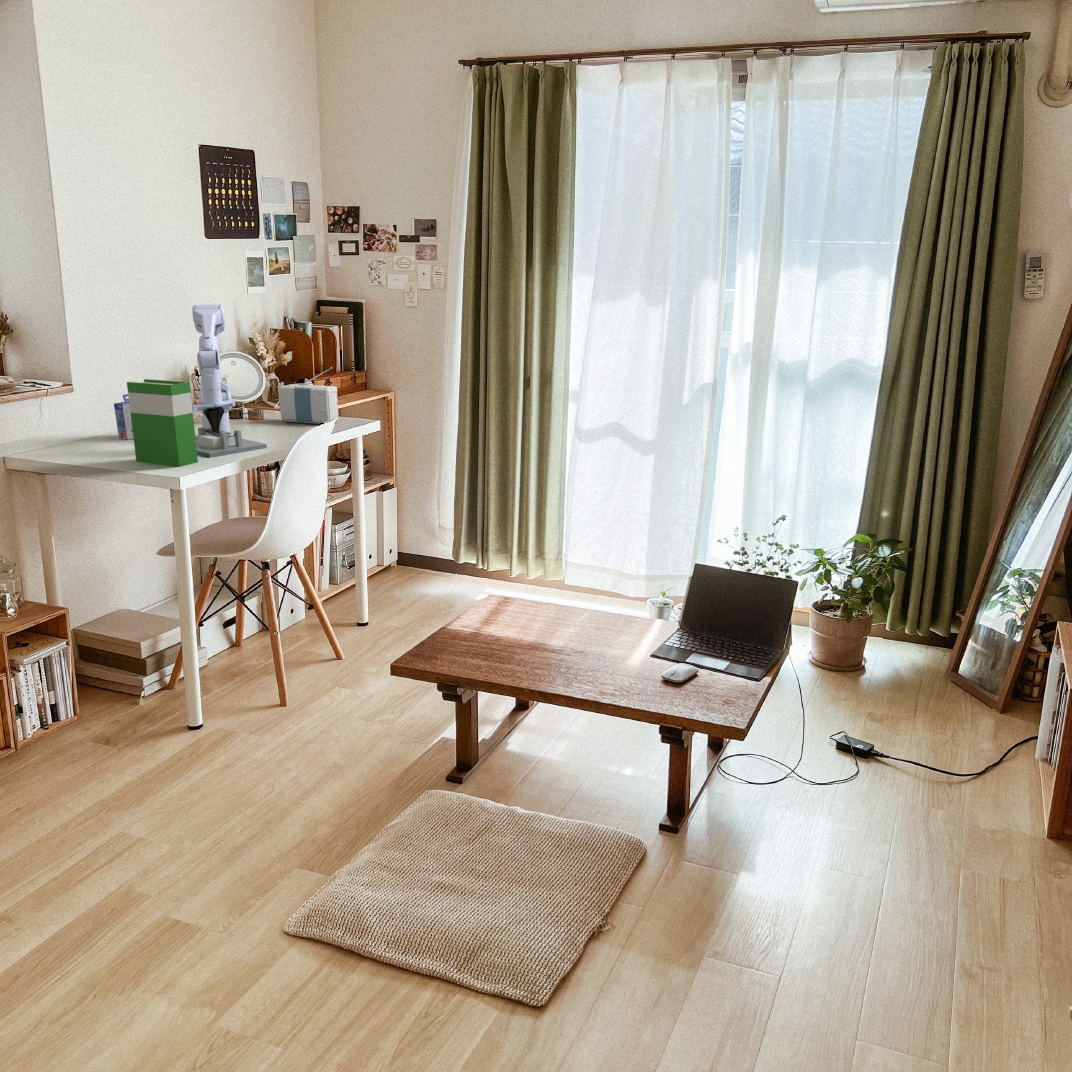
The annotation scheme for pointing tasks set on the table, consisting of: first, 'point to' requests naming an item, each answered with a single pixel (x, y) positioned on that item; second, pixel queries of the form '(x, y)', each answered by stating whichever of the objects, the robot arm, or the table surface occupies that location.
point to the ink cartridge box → (123, 419)
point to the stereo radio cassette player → (308, 403)
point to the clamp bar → (219, 432)
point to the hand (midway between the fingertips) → (215, 431)
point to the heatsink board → (224, 443)
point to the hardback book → (162, 422)
